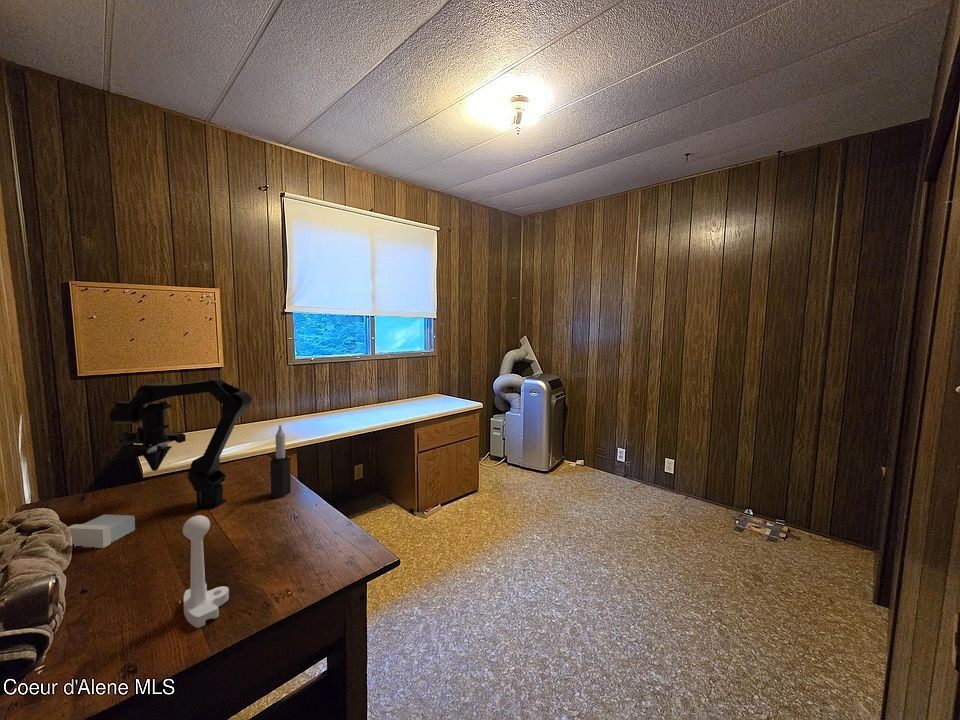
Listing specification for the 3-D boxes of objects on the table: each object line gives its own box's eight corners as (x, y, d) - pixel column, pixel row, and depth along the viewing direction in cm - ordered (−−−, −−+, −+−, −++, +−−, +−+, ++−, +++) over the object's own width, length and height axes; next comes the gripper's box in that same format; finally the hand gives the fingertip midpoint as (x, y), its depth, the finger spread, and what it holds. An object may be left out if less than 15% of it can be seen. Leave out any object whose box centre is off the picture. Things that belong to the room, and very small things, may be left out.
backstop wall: (111, 543, 101) (110, 525, 101) (103, 548, 99) (102, 529, 99) (75, 542, 102) (74, 524, 101) (66, 546, 100) (66, 527, 99)
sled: (134, 529, 108) (134, 515, 108) (110, 543, 101) (109, 528, 101) (104, 528, 109) (104, 514, 108) (78, 541, 102) (77, 526, 101)
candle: (281, 498, 132) (281, 427, 130) (269, 496, 133) (268, 426, 131) (292, 492, 137) (291, 423, 135) (279, 490, 138) (279, 422, 136)
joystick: (179, 602, 80) (177, 510, 79) (221, 586, 86) (220, 500, 84) (190, 631, 73) (188, 530, 71) (236, 611, 78) (234, 517, 77)
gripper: (155, 415, 131) (156, 460, 132) (98, 429, 112) (100, 480, 113) (186, 416, 130) (187, 461, 131) (134, 430, 112) (136, 481, 113)
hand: (154, 470), depth 122 cm, fingers closed
